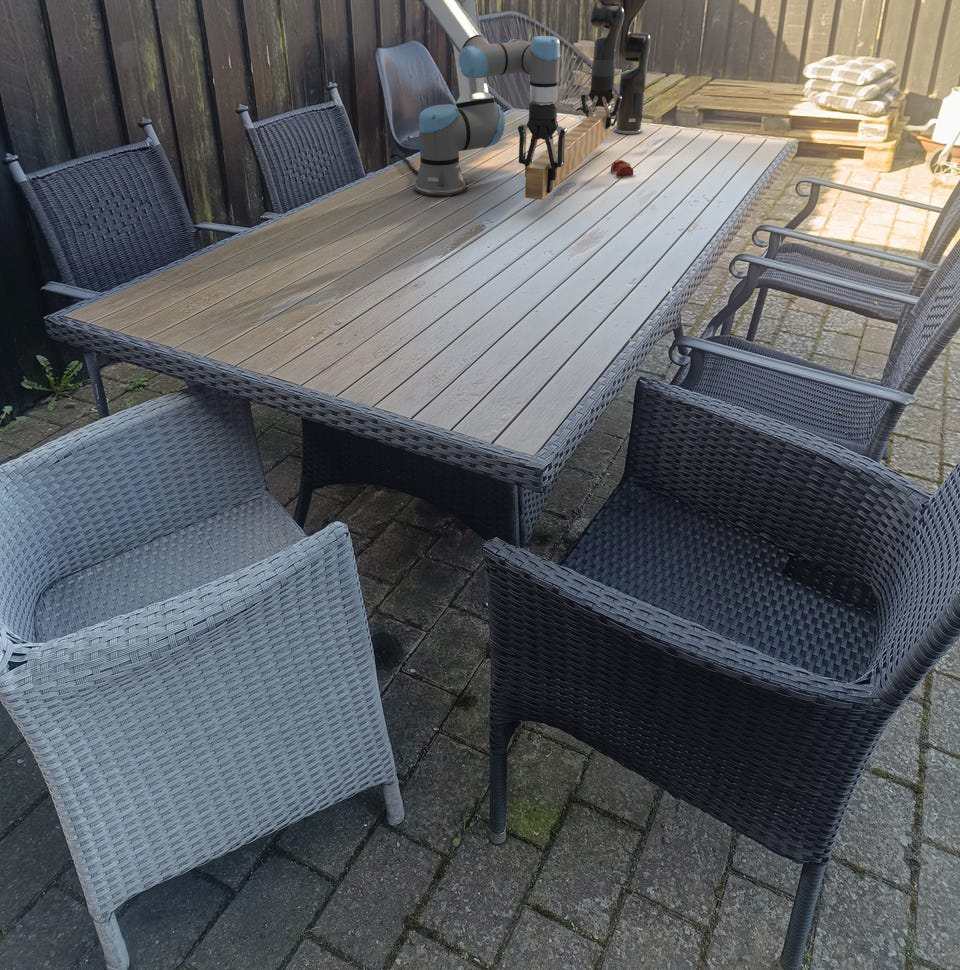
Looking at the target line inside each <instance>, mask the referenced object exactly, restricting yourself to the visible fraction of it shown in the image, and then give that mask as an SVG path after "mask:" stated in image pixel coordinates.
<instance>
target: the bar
mask: <svg viewBox="0 0 960 970" xmlns="http://www.w3.org/2000/svg"><path fill="white" fill-rule="evenodd" d="M611 111H612V112H613V109H611ZM606 118H607V113H606V111H605V109H600V108H597V109H595V110H594V113H592V114H591V115H590V116H589V117H587V116H586V118H585V119H584V120H583V121H581V122H580V123H579V124H577V125H576V126H575V127H573V128H572V129H571V130H570V131H569V132H568V133H566V135H565V148H564V164H563V165H562V166H561V167H558V168H557V178H556V179H555V180H553V190H554V189H555V188H556V187H558V185H559V184H561V183H562V181H564V180H565V178H567V177H568V176H570V174H571V173H572V172H573V171H574V170H575V169H576V168H577V167H578V166H579V165H580V164H582V163H583V162H584V161H585V160H586V159H587V158H588V157H589V156H590V155H591V154H592V153H593V152H595V150H596V149H598V148H599V146H601V145H602V144H603V143H604V142H605V141H606V140H607V139H608V138H609V137H610V136H611V126H610V127H609V128H608V129H606ZM554 148H555V153H556V159H558V141H556V142H555V143H554ZM550 167H551V165H550V160H549V154H548V149H546V150H545V151H544V152H543V153H541V155H539V156H538V157H537V158H535V159H534V160H532V163H531V164H529V165H528V166H527V167H526V177H525V186H524V187H525V188H524V189H525V190H524V198H525V199H531V200H532V199H533V200H544V199H545V197H547V196H548V195H549V194H550V193H547V187H548V169H549V168H550Z"/></svg>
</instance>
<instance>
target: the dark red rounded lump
mask: <svg viewBox="0 0 960 970" xmlns="http://www.w3.org/2000/svg"><path fill="white" fill-rule="evenodd" d="M610 173H615V176H616V177H619V178H621V177H631V176H632V177H633V176H634V169H633V167H632V165H631V163H629V162H627V161H625V160H623V159H618V160H615V161H613V162H612V163H611V166H610Z"/></svg>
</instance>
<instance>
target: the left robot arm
mask: <svg viewBox="0 0 960 970" xmlns="http://www.w3.org/2000/svg"><path fill="white" fill-rule="evenodd" d="M417 1H418V2H420V3H422V4H424V5H425V7H426V8H427V9H428V11H429V13H430V14H431V15H432V16H433V18H434V19H435V20H436V22H437V23H438V25H439V26H440V27H441V29H442V31H443V32H444V33H445V35H446V36H447V37H448V39H449V41H450V42H451V43H452V48H453V57H454V63H455V71H456V78H457V86H458V92H459V93H458V94H459V97H458V99H457V100H456V102H455V104H453V103H452V104H449V103H444V104H436V105H435V104H434V105H432V106H429V107H426V108H425V109H423V110H422V111H421V112H420V114H419V116H418V118H419V119H418V136H419V138H418V139H419V157H420V158H419V159H420V161H419V162H420V164H419V168H418V170H417V169H416V168H414V166H412V164H411V162H410V160H408V159H407V158H405V157H404V156H403V155H401V154H399V153H392V154H391V155H390V158H392V159H393V158H394V157H398V158H399V159H401V160H402V161H404V162H406V164H407V165H408V167H409V169H411V171H413V172H414V173H415V174H417V176H416V180H415V183H414V184H415V185H414V186H415V192H417V193H418V194H420V195H424V196H430V197H450V196H455V195H459V194H461V193H463V192H464V191H466V181H465V179H464V176H463V172H462V169H461V165H460V152H463V151H469V150H475V149H476V150H477V149H481V148H482V149H484V148H485V149H486V148H488V147H492V146H495V145H497V144H498V143H499V142H500V141H501V139H502V137H503V135H504V132H505V127H506V119H505V113H504V111H503V110H502V107H501V106H500V105H499V104H497V103H495V97H494V96H493V95H492V94H491V93H490V92H489V89H488V80H487V79H488V78H487V77H495V76H504V75H505V76H506V75H513V74H526V75H529V96H528V97H529V104H528V121H527V122H526V123H521V124H519V126H517V131H518V134H519V141H518V142H519V143H518V163H519V164H522V165H524V177H525V178H526V167H527V166H528V165H529V164H531V163H532V162H533V159H534V156H535V151H536V147H537V145H538V141H539V140H543V141H544V143H545V144H546V148H547V149H546V150H548V154H549V160H550V165H551V167H550V168H549V169H548V187H547V193H549V194H550V193H552V192H553V190H554V189H553V180H555V179H556V178H557V168H558V167H561V166H562V165H563V164H564V148H565V135H566V134H568V133H567V132H568V128H567V127H562V126H560V125H559V123H558V121H557V120H558V103H557V102H558V100H559V99H558V95H559V78H560V77H559V76H560V62H561V61H560V60H561V59H560V58H561V51H560V50H561V49H560V47H561V45H560V44H561V42H560V38H558V37H557V36H553V35H552V36H551V35H550V36H549V35H537V36H533V37H532V38H531V40H530V41H526V40H524V39H520V38H519V39H514V38H513V39H510V40H508V41H506V42H499V43H490V42H489V41H488V40H487V39H486V38H485V36H484V35H483V33H482V32H481V31H482V30H481V22H480V15H479V7H478V0H417ZM528 131H529V133H530V134H531V138H530V143H529V147H528V151H527V132H528ZM555 132H557V136H558V138H557V142H558V159H556V153H555V148H554V144H555V143H554V136H553V135H554V134H555Z"/></svg>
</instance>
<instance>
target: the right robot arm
mask: <svg viewBox="0 0 960 970" xmlns="http://www.w3.org/2000/svg"><path fill="white" fill-rule="evenodd" d="M647 1H648V0H596V2H595V3H594V4H593V7H592V9H591V12H590V24H591V25H592V26H593V27H594V28H596V29H602V30H603V29H604V30H608V33H607V35H604V36H599V37H597V38H595V40H594V44H593V47H594V49H593V60H592V65H591V77H590V90H589V92H587V93H584V92H583V93H582V94H581V95H580V99H581V100H580V101H581V107H578V108H576V109H575V111H576V112H578V111H582V113H583V114H585V116H586V118H587V117H589V116H590V115H591V114H592V113H594V112H595V111H596V108H597V107H602V108H604V110H605V111H606V113H607V118H606V129H608V128H609V127H610V128H611V126H615V132H616V133H618V134H623V135H637V134H640V133H641V132H642V120H643V111H644V103H645V102H644V101H645V93H646V92H645V90H646V83H647V73H648V72H647V71H648V64H649V63H648V62H649V57H650V51H651V40H652V39H651V35H650V34H649V33H647V32H631V30H630V29H631V27H632V25H633V23H634V21H635V19H636V17H637V16H638V15H639V13H640V12H641V11H642V9H643V8H644V7H645V4H646V3H647ZM619 3H620V4H619ZM618 39H619V41H618ZM617 44H618V56H619V59H620V60H621V61H624V62H635V63H638V64H637V66H635V67H633V68H632V69H629V70H626V71H623V72H622V73H621V74H620V78H619V91H618V95H616V94H615V91H614V88H615V87H614V86H615V75H616V74H615V73H616V53H617ZM589 99H590V100H591V102H592V103H591V105H590V107H589V104H588V101H589ZM613 100H614V103H615V104H614V107H613V109H612V105H611V102H612V101H613ZM611 110H612V111H611ZM613 117H615V118H614V120H613V119H612V118H613ZM612 120H613V121H612Z"/></svg>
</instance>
